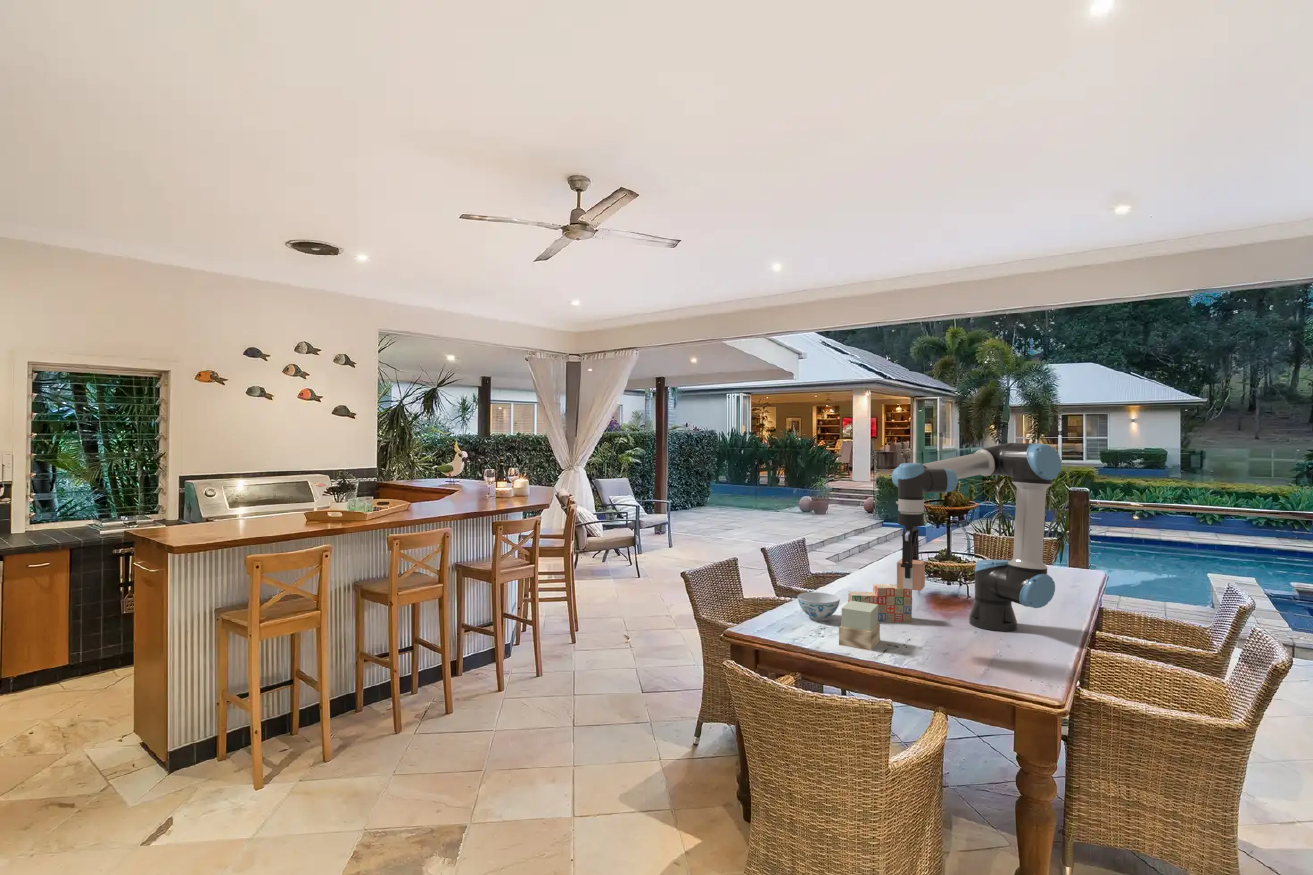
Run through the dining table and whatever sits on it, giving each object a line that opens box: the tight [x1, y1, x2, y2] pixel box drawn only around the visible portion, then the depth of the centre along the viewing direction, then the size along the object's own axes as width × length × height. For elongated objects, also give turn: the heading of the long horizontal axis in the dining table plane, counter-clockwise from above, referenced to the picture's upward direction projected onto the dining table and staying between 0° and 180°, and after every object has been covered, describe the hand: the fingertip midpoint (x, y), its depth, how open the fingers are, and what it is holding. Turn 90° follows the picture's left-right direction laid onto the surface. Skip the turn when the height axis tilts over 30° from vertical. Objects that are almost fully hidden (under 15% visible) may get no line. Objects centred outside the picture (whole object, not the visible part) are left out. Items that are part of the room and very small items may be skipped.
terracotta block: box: [896, 558, 926, 592], centre depth 206 cm, size 7×7×8 cm
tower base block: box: [838, 622, 881, 651], centre depth 213 cm, size 10×12×6 cm
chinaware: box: [797, 591, 841, 622], centre depth 240 cm, size 15×15×8 cm
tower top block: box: [840, 601, 879, 631], centre depth 213 cm, size 9×11×6 cm
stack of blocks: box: [847, 583, 913, 623], centre depth 240 cm, size 21×6×12 cm, turn 86°
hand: (910, 585), depth 206 cm, fingers closed on terracotta block, 7 cm apart
